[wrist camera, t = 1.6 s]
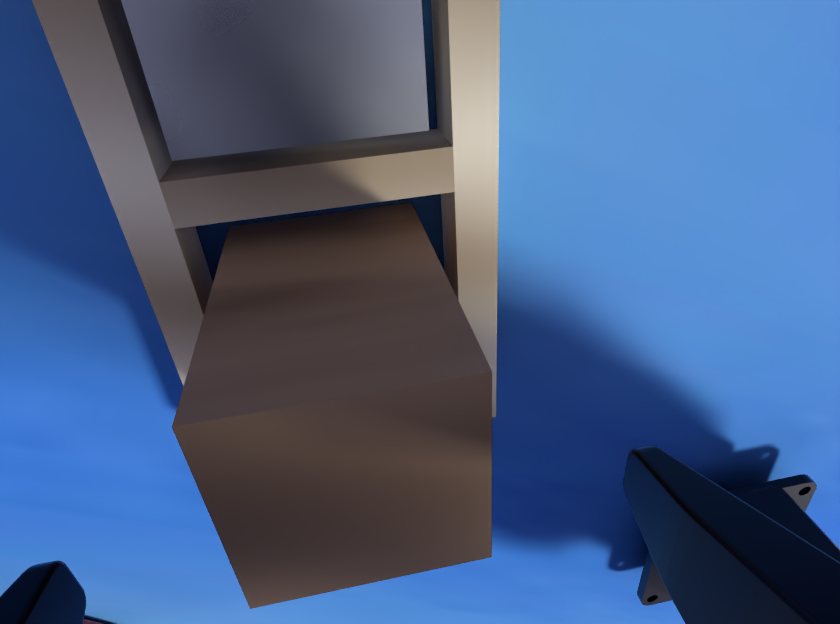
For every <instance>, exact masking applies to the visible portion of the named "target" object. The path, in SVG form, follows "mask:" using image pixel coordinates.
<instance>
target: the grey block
mask: <svg viewBox="0 0 840 624" xmlns="http://www.w3.org/2000/svg"><path fill="white" fill-rule="evenodd" d="M121 2H122V5H123V8H124V11H125V14H126V18H127V21H128V24H129V27H130V30H131V33H132V36H133V40H134V43H135V46H136V49H137V52H138V55H139V59H140V62H141V65H142V68H143V71H144V74H145V78H146V81H147V84H148V87H149V90H150V93H151V97H152V100H153V103H154V106H155V109H156V112H157V115H158V119H159V122H160V125H161V128H162V131H163V134H164V138H165V141H166V144H167V147H168V150H169V153H170V157H171V160H172V161H175V160H184V159H192V158H201V157H209V156H217V155H226V154H234V153H243V152H251V151H260V150H268V149H277V148H285V147H294V146H302V145H311V144H319V143H328V142H336V141H345V140H353V139H362V138H370V137H379V136H387V135H396V134H404V133H413V132H421V131H429V119H428V102H427V85H426V67H425V50H424V33H423V16H422V0H121Z"/></svg>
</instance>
